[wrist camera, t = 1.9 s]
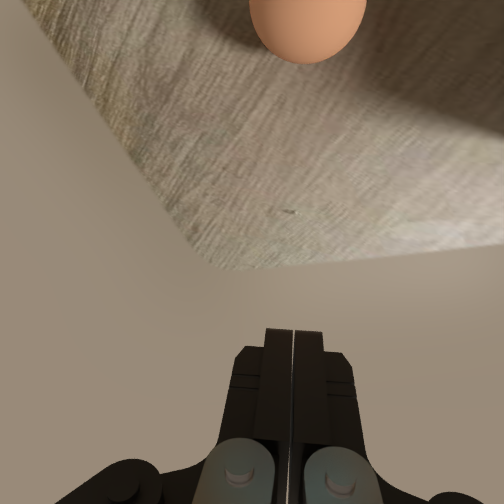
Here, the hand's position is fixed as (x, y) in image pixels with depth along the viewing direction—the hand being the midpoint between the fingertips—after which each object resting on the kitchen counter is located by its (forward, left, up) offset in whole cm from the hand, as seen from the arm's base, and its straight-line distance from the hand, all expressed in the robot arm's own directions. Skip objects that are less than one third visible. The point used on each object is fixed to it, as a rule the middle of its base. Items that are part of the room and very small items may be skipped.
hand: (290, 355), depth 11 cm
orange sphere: (-3, -9, -14) cm, 17 cm away
